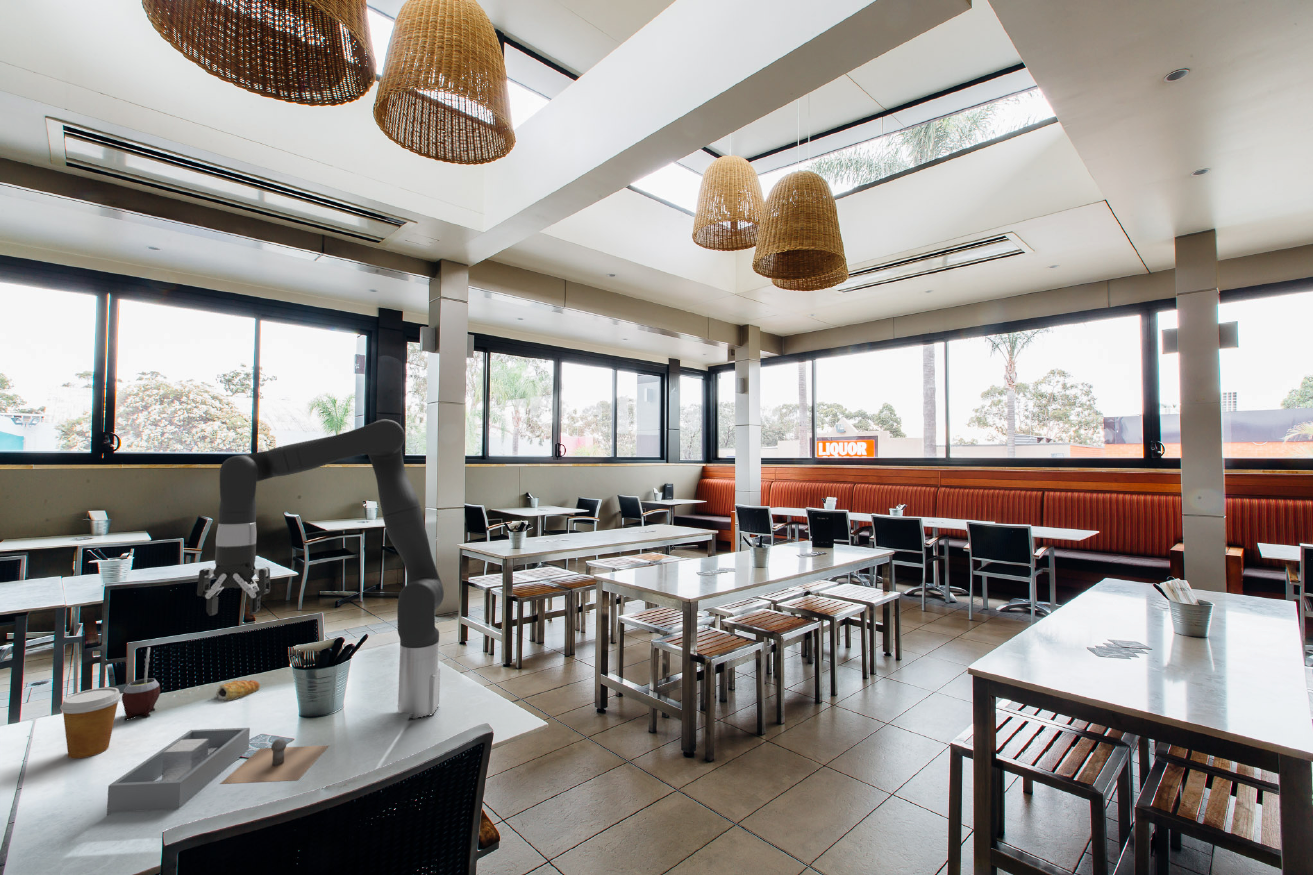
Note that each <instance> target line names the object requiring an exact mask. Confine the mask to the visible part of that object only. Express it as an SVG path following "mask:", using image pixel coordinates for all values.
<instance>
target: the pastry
mask: <svg viewBox="0 0 1313 875" xmlns="http://www.w3.org/2000/svg"><path fill="white" fill-rule="evenodd" d="M260 688H261V686H260V683H259V682H258V681H256V680H253V679H251V680H233V681H232V682H226V683H224V684H222V685H220V686H219V687H218V689H217V691H216V694H215V695H216V697H217V698H218V699H219V700H224V701H233V700H237V699H238V698H243V697H246V696H249V695H251V694H253V693H255V692H257V691H258V690H259V689H260Z"/></svg>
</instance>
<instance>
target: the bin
mask: <svg viewBox="0 0 1313 875" xmlns="http://www.w3.org/2000/svg"><path fill="white" fill-rule="evenodd" d="M250 730H251V729H250V727H235V728H233V727H232V728H208V729H207V728H206V729H205V728H204V729H190V730H188V731H187V732H185V733H184V734H182V735H181V736H179V737H178V738H177V739H174V741H172V742H170V743H169V744H168V745H167V746H165V747H163V748H162V749H161V750H159V751H158V752H156V753H154V754H153V755H151V756H150V757H149V758H147V759H146V760H145V761H143V762H142V763H140V764H138V765H137V766H136V767H134V768H132V769H131V770H130V771H128V772H127V773H125V774H124V775H122V776H121V777H119V778H118V779H116V780H115V781H113V782H112V783H110V784H108V788H107V806H106V816H109V815H110V814H112V813H119V812H120V813H121V812H123V813H124V812H139V811H140V812H141V811H143V812H144V811H159V810H163V811H164V810H178V809H180V808H182V807H183V806H184V805H186V804H187V803H188V802H189V801H190V800H191V799H193V797H195V796H196V795H197V794H198V793H200V791H202V790H203V789H204V788H205V787H206V786H207V785H209V784H210V783H211V782H213V780H215V779H216V778H218V776H219V775H220V774H222V773H223V772H224V771H225V770H226V769H228V768H229V767H230V766H231V765H232V764H233V763H234V762H236V761H237V760H238V759H239V758H241V756H244V754H245V753H247V752H248V751H249V749H250ZM187 739H209V740H208V748H218V750H217V751H215V752H214V753H213V754H212V755H210V756H209V757H208V758H206V759H205V760H204V761H203V762H201V763H200V764H199V765H198V766H196V767H195V768H194V769H192V770H191V771H190V772H189V773H187V774H186V775H185V776H183V777H182V778H181V779H180V780H173V781H162V780H158V779H159V778H160V777H162V768H163V752H164V751H166V750H167V749H169V748H170V747H171V746H173V745H174V744H176V743H177V742H179V741H180V740H187ZM156 780H157V781H156Z"/></svg>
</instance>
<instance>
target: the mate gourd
mask: <svg viewBox="0 0 1313 875" xmlns="http://www.w3.org/2000/svg"><path fill="white" fill-rule="evenodd" d="M150 653H151V647H149V646H148V647H147V649H146V656H145V657H146V658H145V660H144V662H145V665H144V667H145V669H144V678H141V679H137V680H133V681H131V682H129V683H128V684H127V685H126V686H125V687H124V689H123V690H122V694H121V702H122V704H123V707H124V708H123V709H124V714H125V718H124V721H128V720H127V719H130V720H132V719H135V718H138V717H141V718H150V717H151V714H150V713H152V712H155V711H156V708H155V705H156V703H157V701H158V699H159V698H160V695H161V687H160V683H159V682H158V681H157V680H156V678H148V675H149V674H148V672H149V663H150ZM134 717H135V718H134ZM131 718H132V719H131Z"/></svg>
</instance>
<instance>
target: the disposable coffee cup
mask: <svg viewBox="0 0 1313 875" xmlns="http://www.w3.org/2000/svg"><path fill="white" fill-rule="evenodd" d="M120 699H122V694H121V692H120V690H119V688H117V687H98V688H92V689H86V690H83V691H79V692H76V693H73V694H71V695H68V696H67V697H65V698H64V700H63V701H62V704H61V705H60V706H59V708H60V710H61V712H62V714H63V724H64V732H65V741H66V742H65V743H66V749H67V750H66V751H67V757H68V758H69V759H72V760H73V759H74V760H75V759H84V758H88V757H89V758H90V757H93V756H96V755H99V754H101V753H103V752H105V751H107V750H108V749H109V747H110V742H111V738H112V733H113V730H114V729H113V728H114V723H115V720H116V719H115V717H116V713H117V709H118V704H119V702H120Z"/></svg>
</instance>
